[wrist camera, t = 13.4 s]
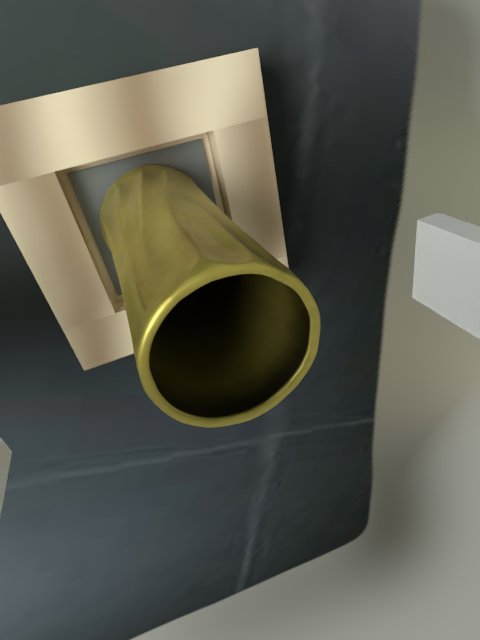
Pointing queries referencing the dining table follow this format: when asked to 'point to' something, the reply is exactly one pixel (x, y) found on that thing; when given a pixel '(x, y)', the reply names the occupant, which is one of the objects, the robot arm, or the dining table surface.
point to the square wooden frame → (117, 159)
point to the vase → (204, 302)
